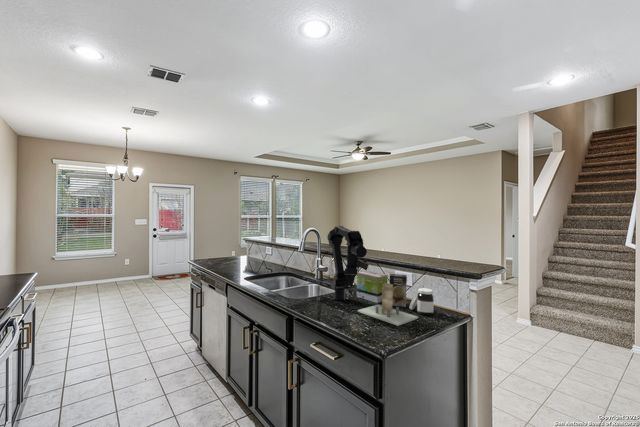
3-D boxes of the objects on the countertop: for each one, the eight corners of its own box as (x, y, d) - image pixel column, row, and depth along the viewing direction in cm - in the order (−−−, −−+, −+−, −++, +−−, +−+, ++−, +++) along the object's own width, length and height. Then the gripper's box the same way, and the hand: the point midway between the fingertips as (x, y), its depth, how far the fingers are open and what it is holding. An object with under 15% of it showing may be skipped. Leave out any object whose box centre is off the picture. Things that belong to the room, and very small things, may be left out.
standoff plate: (357, 311, 153) (357, 304, 153) (378, 305, 164) (378, 298, 164) (398, 325, 135) (398, 317, 135) (418, 318, 146) (418, 310, 146)
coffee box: (388, 305, 165) (389, 275, 165) (388, 302, 171) (389, 273, 171) (406, 307, 163) (406, 276, 163) (405, 303, 169) (406, 274, 169)
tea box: (355, 297, 179) (356, 272, 179) (366, 294, 186) (366, 270, 186) (377, 303, 169) (378, 276, 169) (387, 300, 176) (388, 274, 176)
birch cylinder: (380, 311, 151) (380, 283, 152) (389, 311, 153) (390, 283, 153) (384, 315, 147) (385, 285, 147) (394, 314, 148) (394, 285, 148)
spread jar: (434, 317, 148) (435, 292, 148) (410, 314, 150) (410, 291, 150) (430, 309, 160) (431, 287, 160) (408, 307, 162) (408, 285, 162)
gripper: (367, 258, 149) (366, 290, 149) (368, 253, 167) (368, 281, 167) (344, 257, 151) (344, 288, 151) (348, 252, 169) (347, 280, 169)
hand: (351, 284), depth 160 cm, fingers open, 9 cm apart
